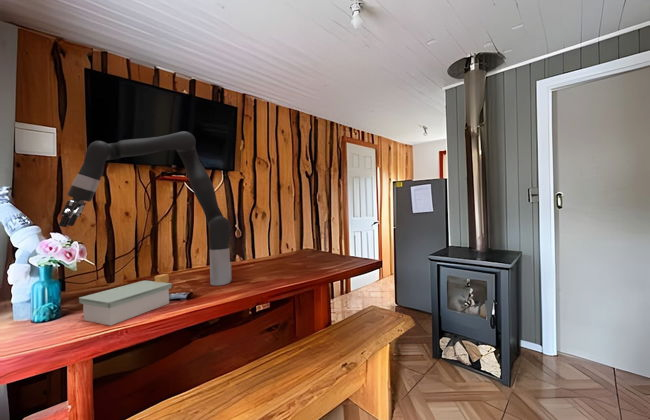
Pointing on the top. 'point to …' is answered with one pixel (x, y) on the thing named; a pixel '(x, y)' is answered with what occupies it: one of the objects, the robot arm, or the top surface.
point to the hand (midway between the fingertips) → (66, 226)
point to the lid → (127, 292)
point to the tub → (125, 309)
